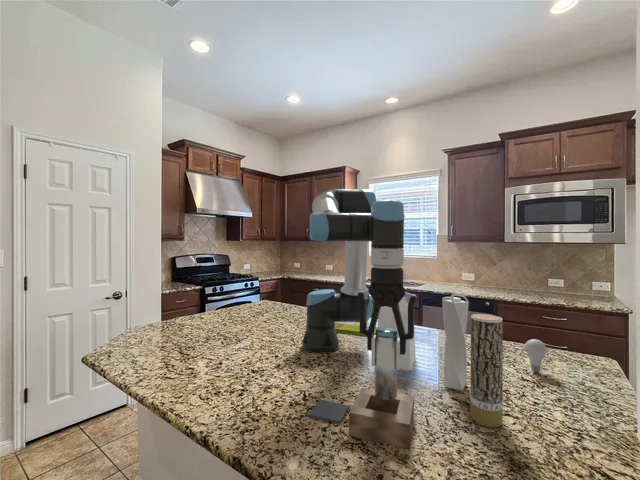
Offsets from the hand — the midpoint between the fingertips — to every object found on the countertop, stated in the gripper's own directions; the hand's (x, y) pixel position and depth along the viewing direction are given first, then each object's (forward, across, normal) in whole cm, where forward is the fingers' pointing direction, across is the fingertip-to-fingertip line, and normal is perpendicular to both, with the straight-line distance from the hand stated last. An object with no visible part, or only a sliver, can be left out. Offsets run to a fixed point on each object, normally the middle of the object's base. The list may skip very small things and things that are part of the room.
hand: (386, 365), depth 73 cm
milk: (+15, -2, +42) cm, 44 cm away
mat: (+14, -14, +1) cm, 20 cm away
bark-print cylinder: (+14, +22, +11) cm, 29 cm away
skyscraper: (+14, +16, +29) cm, 36 cm away
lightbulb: (+14, +42, +50) cm, 67 cm away
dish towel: (+16, -27, +77) cm, 83 cm away
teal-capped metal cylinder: (+7, 0, 0) cm, 7 cm away
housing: (+14, -1, 0) cm, 14 cm away
